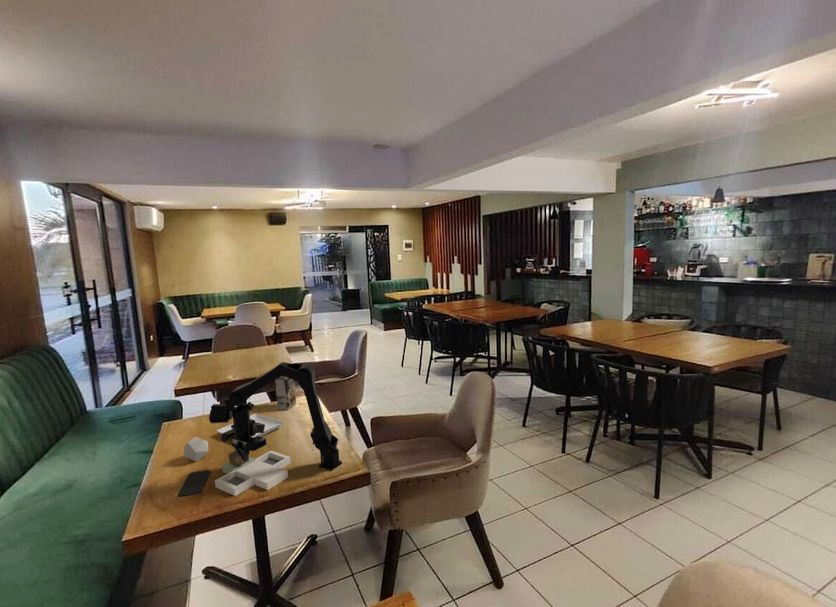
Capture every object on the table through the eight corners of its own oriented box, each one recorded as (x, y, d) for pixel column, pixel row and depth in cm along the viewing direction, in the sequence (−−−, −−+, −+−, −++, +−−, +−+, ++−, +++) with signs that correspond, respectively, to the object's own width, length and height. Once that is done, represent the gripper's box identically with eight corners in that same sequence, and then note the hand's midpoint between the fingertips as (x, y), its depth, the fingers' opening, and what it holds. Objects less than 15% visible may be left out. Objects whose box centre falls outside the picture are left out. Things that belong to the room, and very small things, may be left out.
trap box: (303, 467, 153) (303, 461, 153) (248, 502, 133) (248, 494, 132) (259, 452, 166) (259, 446, 165) (203, 481, 145) (202, 475, 145)
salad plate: (245, 447, 171) (244, 440, 170) (215, 437, 182) (215, 429, 182) (285, 428, 189) (285, 421, 188) (256, 419, 200) (255, 413, 199)
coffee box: (288, 410, 210) (286, 380, 207) (277, 409, 211) (274, 379, 209) (297, 403, 218) (294, 374, 216) (286, 403, 220) (283, 374, 218)
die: (214, 458, 164) (212, 433, 168) (198, 457, 156) (196, 431, 160) (196, 465, 164) (194, 440, 169) (178, 465, 156) (177, 439, 161)
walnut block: (249, 460, 154) (248, 450, 154) (237, 467, 150) (236, 456, 150) (240, 457, 157) (240, 448, 156) (229, 463, 153) (228, 453, 152)
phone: (176, 496, 137) (189, 472, 151) (176, 498, 137) (189, 474, 151) (200, 492, 138) (211, 469, 153) (201, 494, 139) (211, 471, 153)
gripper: (276, 417, 151) (280, 456, 153) (244, 409, 161) (248, 446, 163) (251, 429, 142) (254, 471, 144) (218, 419, 151) (222, 459, 153)
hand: (245, 461), depth 151 cm, fingers closed
